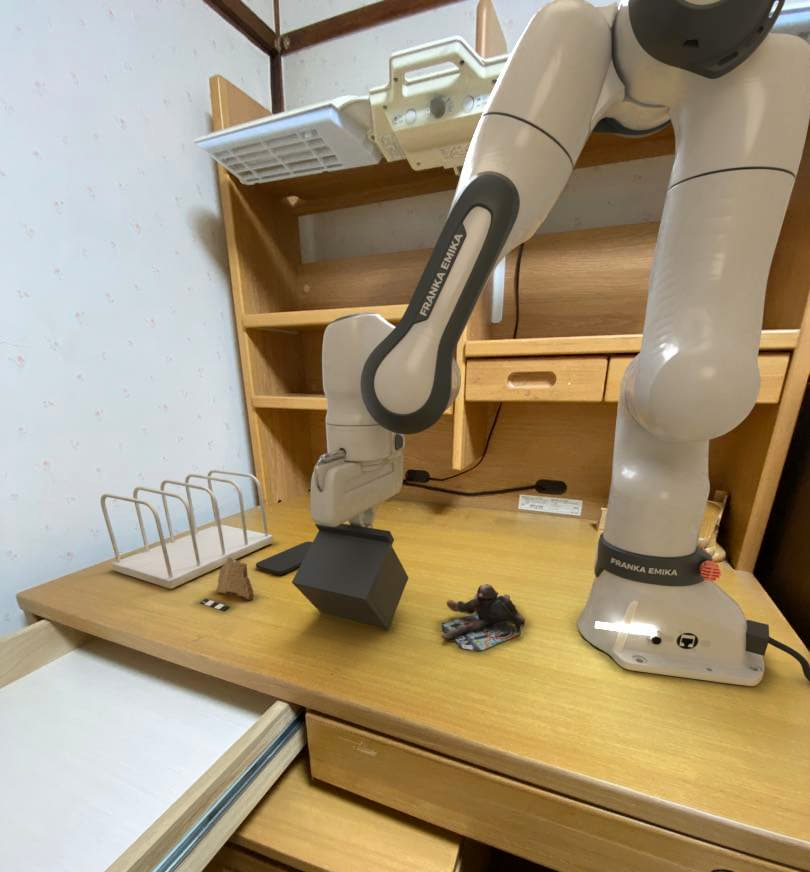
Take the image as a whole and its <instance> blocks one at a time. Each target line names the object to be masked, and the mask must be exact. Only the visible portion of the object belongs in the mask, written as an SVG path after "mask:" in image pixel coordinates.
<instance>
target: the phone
mask: <svg viewBox="0 0 810 872" xmlns="http://www.w3.org/2000/svg"><path fill="white" fill-rule="evenodd" d="M312 543H313V541H304V542H301V543H299V544H296V545H295V546H292V547H289V548H288V549H286V550H283V551H281V552H278V553H276V554H274V555H271V556H269V557H267V558H265V559H261V560H259V561H258V562H256V563H255V568H256V569H257V570H261V571H263V572H268V573H271V574H273V575H278V576H280V575H285V574H287V573H289V572H291V571H293V570H296V569H297V568H298V569H299V567H300V565H301V564H302V562H303V560H304V558H305V556H306V554H307V552H308V550H309V548H310V546H311V545H312Z"/></svg>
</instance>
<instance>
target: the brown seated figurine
mask: <svg viewBox="0 0 810 872" xmlns="http://www.w3.org/2000/svg"><path fill="white" fill-rule="evenodd" d="M446 606H447V607H448V608H449V609H450V611H452V612H457V613H458V612H459V613H461V614H466V615H465V616H460V617H457V618H455V619H452V620H450V621H449V622H448V621H445V622H442V624H441V631H442V632H444V633H443V634H441V638H442V639H443V640H446V641H448V642H452V643H455V644H457V647H460V649H462V650H470V651H477V652H479V651H484V650H487V649H488V648H491V647H493V646H497V644H501V643H503V642H505V641H508V640H510V639H512V638H514V637H516V636H519V635H521V630H522V628H523V626H524V625H525V623H526V619H525V617H524V616H523V614H521V613H520V612H519V611H518V609H516V605H515V604H514V603H513V602H512V600H511V596H510V594H503V595H499V592H498V591H496V590H495V588H494V587H493V586H492V585H491V584H489V583H488V584H487V583H485V584H483V585H479V587H478V589H477V591H476V594H475V595H474V597H473V599H470V600H469V601H467V602H464V601H461V600H459V601H455V600H453V599H448V600H447V601H446ZM475 612H476V614H474V613H475ZM453 626H454V628H452V627H453Z"/></svg>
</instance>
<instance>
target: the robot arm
mask: <svg viewBox="0 0 810 872" xmlns="http://www.w3.org/2000/svg"><path fill="white" fill-rule="evenodd" d="M777 1H778V2H777ZM776 2H777V4H776V7H775V9H774V11H773V13H772V15H771V12H772V10H773V7H774V4H775V3H776ZM785 2H786V0H620V2H619V3H618V2H617V1H615V2H613V3H611V4H608V5H606V6H594V4H592V3H590V2H588V1H586V0H551V1H549V2H547V3H546V4H545V5H543V6H542V7H540V9H539V10H537V12H536V13H535V14H534V15H533V17H532V18H531V19H530V20H529V23H528V24H527V26H526V27H525V29H524V31H523V32H522V35H521V36H519V37H520V38H519V39H518V41H517V43H516V44H515V46H514V48H513V49H512V51H511V53H510V55H509V57H508V58H507V61H506V63H505V65H504V67H503V68H502V70H501V72H500V74H499V77H498V78H497V81H496V82H495V85H494V87H493V88H492V91H491V93H490V96H489V97H488V100H487V103H486V105H485V106H484V109H483V112H482V114H481V117H480V119H479V121H478V123H477V127H476V129H475V132H474V134H473V137H472V139H471V142H470V145H469V148H468V151H467V153H466V156H465V160H464V163H463V165H462V169H461V171H460V175H459V180H458V182H457V185H456V189H455V192H454V195H453V199H452V201H451V204H450V208H449V211H448V214H447V216H446V220H445V223H444V225H443V228H442V230H441V233H440V234H439V236H438V239H437V241H436V243H435V245H434V247H433V249H432V252H431V254H430V257H429V258H428V260H427V263H426V265H425V267H424V269H423V273H421V276H420V278H419V281H418V283H417V285H416V287H415V290H414V292H413V294H412V296H411V299H410V300H409V303H408V305H407V307H406V309H405V311H404V313H403V315H402V316H401V319H400V320H399V322H398V323H397V325H393V324H392V323H390V322H389V321H388V320H386V319H385V318H384V317H383V315H381V314H380V313H376V312H358V313H353V314H347V315H343V316H341V317H337V318H336V319H334V320H332V321H331V322H330V323H329V324H327V326H326V328H325V329H324V333H323V336H322V337H323V339H322V348H321V349H322V350H321V352H322V353H321V366H322V367H321V369H322V371H321V372H322V374H321V375H322V389H323V393H324V395H325V399H326V405H327V408H326V415H325V434H326V448H327V449H326V451H327V452H324V453H322V454H321V455H320V456H319V459H318V460H317V462H316V464H315V465H314V467H313V472H312V475H311V479H310V516H311V519H312V521H313V522H314V523H315V524H318V525H322V526H329V527H336V526H339V525H340V524H345V523H346V522H348V524H349V525H355V526H361V527H368V528H374V521H375V518H376V514H377V509H378V508H377V507H378V506H377V505H379V504H381V503H382V502H385V501H386V500H388V499H390V498H392V497H394V496H395V495H397V494H399V493H400V492H401V490H402V487H403V484H404V483H403V481H404V480H403V479H404V455H403V451H402V450H404V449H405V446H406V437H405V435H416V434H419V433H422V432H424V431H426V430H428V429H430V428H432V427H433V426H434V425H435V424H436V423H437V422H438V421H439V420H440V419H441V418H442V416H443V414H445V412H446V411H447V410H449V408H451V406H452V405H453V403H454V402H455V401H456V399H457V397H458V395H459V393H460V389H461V383H462V375H461V370H460V367H459V364H458V362H457V360H456V359H455V353H456V349H457V346H458V345H459V342H460V340H461V338H462V336H463V333H464V331H465V329H466V327H467V326H468V323H469V321H470V319H471V317H472V315H473V313H474V311H475V308H476V307H477V304H478V302H479V301H480V299H481V296H482V294H483V292H484V290H485V289H486V286H487V284H488V282H489V280H490V279H491V276H492V275H493V273H494V271H495V270H496V269H497V267H498V266H499V264H500V263H501V262H502V260H504V258H505V257H506V256H507V255H508V254H510V252H512V250H514V249H515V248H517V247H518V246H519V245H523V244H524V243H525V242H528V241H529V240H530V239H531V238H532V237H533V236H534V235H535V234H536V233H537V231H538V229H539V228H540V226H541V225H542V224H543V223H544V221H545V219H546V218H547V217H548V215H549V213H550V212H551V211H552V209H553V207H554V206H555V204H556V202H557V201H558V199H559V197H560V196H561V194H562V192H563V190H564V189H565V188H564V187H565V186H566V184H567V182H568V180H569V178H570V176H571V174H572V172H573V170H574V168H575V166H576V164H577V161H578V159H579V157H580V156H581V153H582V151H583V149H584V147H585V145H586V143H587V141H588V140H589V137H590V135H592V132H594V133H597V134H612V135H615V136H617V137H620V138H625V139H626V138H627V139H639V138H640V139H641V138H645V137H649V136H651V135H654V134H656V133H658V132H660V131H662V130H663V129H664V128H666V127H667V126H669V125H670V124H671V125H672V128H673V133H674V139H675V148H674V157H675V158H674V163H673V165H672V170H671V173H670V178H669V182H668V186H667V190H666V195H665V198H664V199H665V200H664V205H663V210H662V214H661V220H660V222H659V227H658V228H659V229H658V233H657V237H656V243H655V247H654V254H653V257H652V262H651V267H650V271H649V276H648V290H647V300H646V309H645V318H644V325H643V330H642V332H643V333H642V337H641V346H640V351H639V353H638V354H637V355H635V357H634V358H633V359H632V360H631V361H630V362H629V364H628V365H627V366H626V368H625V370H624V372H623V374H622V377H621V381H620V384H619V385H620V386H619V393H618V401H617V410H616V413H617V414H616V420H615V431H614V442H613V443H614V444H613V455H612V470H611V479H610V480H611V481H610V487H609V493H608V501H607V506H606V513H605V519H604V526H603V532H602V533H600V534H599V538H598V542H597V543H596V550H595V555H594V563H593V569H594V570H593V573H594V578H593V581H592V585H591V588H590V592H589V595H588V598H587V600H586V602H585V605H584V607H583V609H582V611H581V614H579V616H578V619H577V623H576V625H577V629H578V631H579V633H580V634H581V636H582V637H583V638H584V639H585V640H586V641H587V642H589V643H590V644H591V645H593V646H594V647H596V648H598V649H599V650H601V651H603V652H604V653H606V654H607V655H609V656H610V657H611V658H612V660H614V661H615V663H616V664H618V665H619V666H620V667H621V668H623V669H625V670H629V671H635V672H642V673H650V674H655V675H656V674H657V675H664V676H670V677H671V676H672V677H678V678H679V677H680V678H685V679H686V678H687V679H692V680H693V679H694V680H701V681H708V682H715V683H723V684H731V685H737V686H738V685H739V686H747V687H756V686H758V684H760V683H761V681H762V680H763V678H764V673H765V661H764V656H766V651H767V648H768V646H769V645H772V646H773V647H775V648H776V649H779V650H781V651H783V652H785V653H786V654H788V655H790V656H791V657H792V658H794V659H795V660H796V661H797V662H798V663H799V664H800V666H801V669H802V672H803V675H804V677H805V679H806V680H807V681H808V682H810V663H809V661H808V660H807V658H805V657H804V656H803V655H802V654H801V653H799V652H798V651H797V650H795V649H793V648H792V647H790V646H788V645H787V644H784V643H782V642H780V641H778V640H776V639H774V638H773V637H771V636H770V625H769V624H767V623H763V622H760V621H756V620H751V619H747V618H746V616H745V614H744V612H743V609H742V607H741V606H740V605H739V603H738V602H737V601H736V600H735V599H734V598H733V597H732V596H731V595H729V594H728V592H726V591H725V590H724V589H723V588H722V587H720V586H719V585H718V584H716V581H717V579H720V576H722V574H721V573H722V571H721V569H720V566H719V564H718V563H717V562H715V561H714V559H713V557H712V555H711V554H710V553H709V552H708V551H707V550H706V548H705V547H704V546H701V547H700V546H699V545H698V542H699V538H700V533H701V530H702V524H703V521H704V517H705V513H706V508H707V504H708V500H709V497H710V496H709V495H710V492H711V491H710V489H711V484H710V477H709V476H710V475H709V453H710V451H709V449H710V440H712V439H716V438H719V437H721V436H724V435H726V434H727V433H729V432H731V431H733V430H734V429H735V428H737V427H738V426H739V425H740V424H741V423H742V422H743V421H744V420H745V419H746V418H747V417H748V416H749V415H750V413H751V412H752V410H753V409H754V407H755V406H756V403H757V401H758V398H759V395H760V391H761V383H762V382H761V373H760V368H759V363H758V358H759V351H760V346H761V345H760V344H761V338H762V330H763V321H764V309H765V301H766V291H767V286H768V285H767V284H768V279H769V275H770V270H771V266H772V262H773V257H774V254H775V251H776V247H777V244H778V241H779V237H780V235H781V230H782V228H783V227H782V226H783V223H784V219H785V217H786V213H787V210H788V206H789V204H790V203H789V202H790V199H791V195H792V193H793V188H794V186H795V183H796V179H797V175H798V172H799V168H800V164H801V160H802V156H803V153H804V148H805V143H806V138H807V133H808V128H809V125H810V124H809V123H810V44H809V42H808V41H806V39H803V38H802V37H800V36H798V35H794V34H790V33H775V32H774V33H773V32H771V31H772V29H773V28H774V26H775V24H776V22H777V20H778V18H779V16H780V15H781V13H782V10H783V8H784V5H785V4H786V3H785ZM770 15H771V16H770ZM714 581H715V582H714Z"/></svg>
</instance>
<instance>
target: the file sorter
mask: <svg viewBox="0 0 810 872" xmlns="http://www.w3.org/2000/svg"><path fill="white" fill-rule="evenodd" d="M212 474H222V475H230V476H237V477H245V478H250V479H252V480H253V481H254V482H255V484H256V487H257V492H258V497H259V504H260V512H261V519H262V525H263V531H264V533H263V532H260V531H256V530H255V531H254V530H251V529H250V530H249V529H247V524H246V516H245V515H246V514H245V507H244V498H243V492H242V490H241V488H240V486H239V484H238V483H237V482H236V481H234V480H232V479H227V478H222V477H215V476H212ZM191 478H198V479H203V480H207V485H208V487H206V486H203V485H199V484H192V483H189V481H190V479H191ZM212 481H215V482H221V483H228V484H231V485H232V486H234V487H235V490H236V491H237V495H238V502H239V508H240V509H239V510H240V516H241V517H240V518H241V526H242V528H241V527H235V526H230V525H225V524H222V522H221V518H220V512H219V505H218V500H217V498H216V495H215V494H214V491H213V486H212ZM166 484H171V485H177V486H182V487H184V488H185V491H186V497H187V500H186V499H185V497H184V496H182V494H181V495H180V494H179V493H173V492H168V491H165V485H166ZM190 488H192V489H196V490H200V491H205V492H206V493H207V494H208V495H209V496H210V502H211V507H212V512H213V517H214V523H215V525H212V526H209V527H206V528H204V529H201V530H199V531H198V527H197V521H196V515H195V512H194V506H193V501H192V496H191V491H190ZM159 489H160V490H159ZM159 489H155V488H150V487H145V486H136V487H135V488H134V489H133V492H132V497H129V496H123V495H119V494H113V493H104V494H102V495H101V497H100V508H101V510H102V514H103V517H104V520H105V525H106V527H107V532H108V535H109V538H110V542H111V545H112V548H113V553H114V556H115V559H116V561H113V562H112V564H111V565H112V568H113V571H114V572H116V573H120V574H123V575H125V576H130V577H133V578H136V579H140V580H143V581H145V582H149V583H152V584H154V585H157V586H161V587H164V588H167V589H170V590H171V589H175V588H176V587H178V586H181V585H184V584H185V583H187V582H189V581H191V580H194V579H196V578H197V577H200V576H202V575H204V574H207V573H209V572H211V571H213V570H216V569H218V568H220V567H223V566H224V565H225V564H226V561H227V558H232V559H234V560H237V559H239V558H241V557H244V556H246V555H248V554H250V553H252V552H255V551H258V550H259V549H261V548H263V547H266V546H268V545H270V544H273V543H274V536H273V535H272V534H269V532H268V525H267V519H266V518H267V517H266V510H265V504H264V498H263V491H262V486H261V483H260V480H258V478H257V477H256V476H255V475H253V474H251V473H245V472H237V471H229V470H221V469H211V470H209V471H208V473H207V475H203V474H198V473H189V474H187V475H186V476H185V479H184V482H183V481H177V480H173V479H172V480H171V479H164V480H163V481H162V482H161V483H160V488H159ZM139 491H144V492H148V493H153V494H158V495H161V500H162V504H163V508H164V509H163V510H164V514H165V518H166V523H167V528H168V533H169V537H170V541H169V542H166V541H165V536H164V532H163V528H162V524H161V519H160V516H159V513H158V511H157V509H156V508H155V506H154V505H153V504H152V503H150V502H149V501H147V500H143V499H138V492H139ZM167 497H172V498H176V499H177V500H179V501H181V503H182V504H183V505H184V508H185V510H186V511H185V512H186V515H187V520H188V526H189V527H188V528H189V531H190V534H187V535H185V536H182V537H180V538H176V539H175V536H174V531H173V527H172V523H171V522H172V521H171V517H170V513H169V507H168V502H167ZM106 498H110V499H115V500H120V501H125V502H130V503H134V506H135V509H136V511H135V512H136V514H137V519H138V523H139V529H140V533H141V537H142V543H143V545H144V551H141V552H138V553H135V554H133V555H130V556H127V557H124V558H121V556H120V552H119V549H118V545H117V542H116V538H115V534H114V531H113V527H112V524H111V520H110V517H109V513H108V509H107V505H106ZM140 505H143V506H146V507H148V509H150V511H151V512H152V514H153V518H154V521H155V525H156V529H157V534H158V538H159V541H160V545H158V546H154V547H152V548H149V547H150V546H149V543H148V538H147V534H146V530H145V526H144V522H143V517H142V513H141V508H140Z"/></svg>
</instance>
